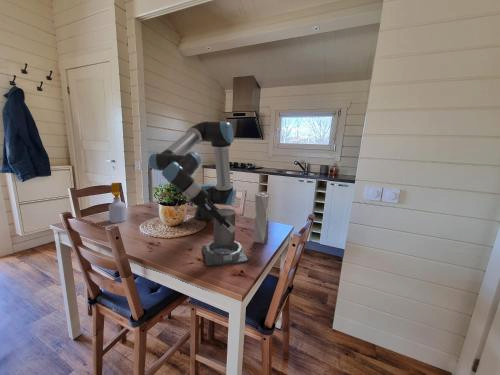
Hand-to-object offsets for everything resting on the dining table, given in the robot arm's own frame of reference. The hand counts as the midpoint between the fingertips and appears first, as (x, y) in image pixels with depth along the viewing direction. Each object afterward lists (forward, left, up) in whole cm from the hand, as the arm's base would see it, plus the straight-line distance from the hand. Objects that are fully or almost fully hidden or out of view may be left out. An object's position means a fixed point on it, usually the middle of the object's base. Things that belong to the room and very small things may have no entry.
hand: (231, 226), depth 97 cm
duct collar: (0, -3, -14) cm, 14 cm away
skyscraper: (-10, +19, -14) cm, 26 cm away
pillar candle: (0, -3, -7) cm, 7 cm away
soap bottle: (-57, -59, -14) cm, 83 cm away
